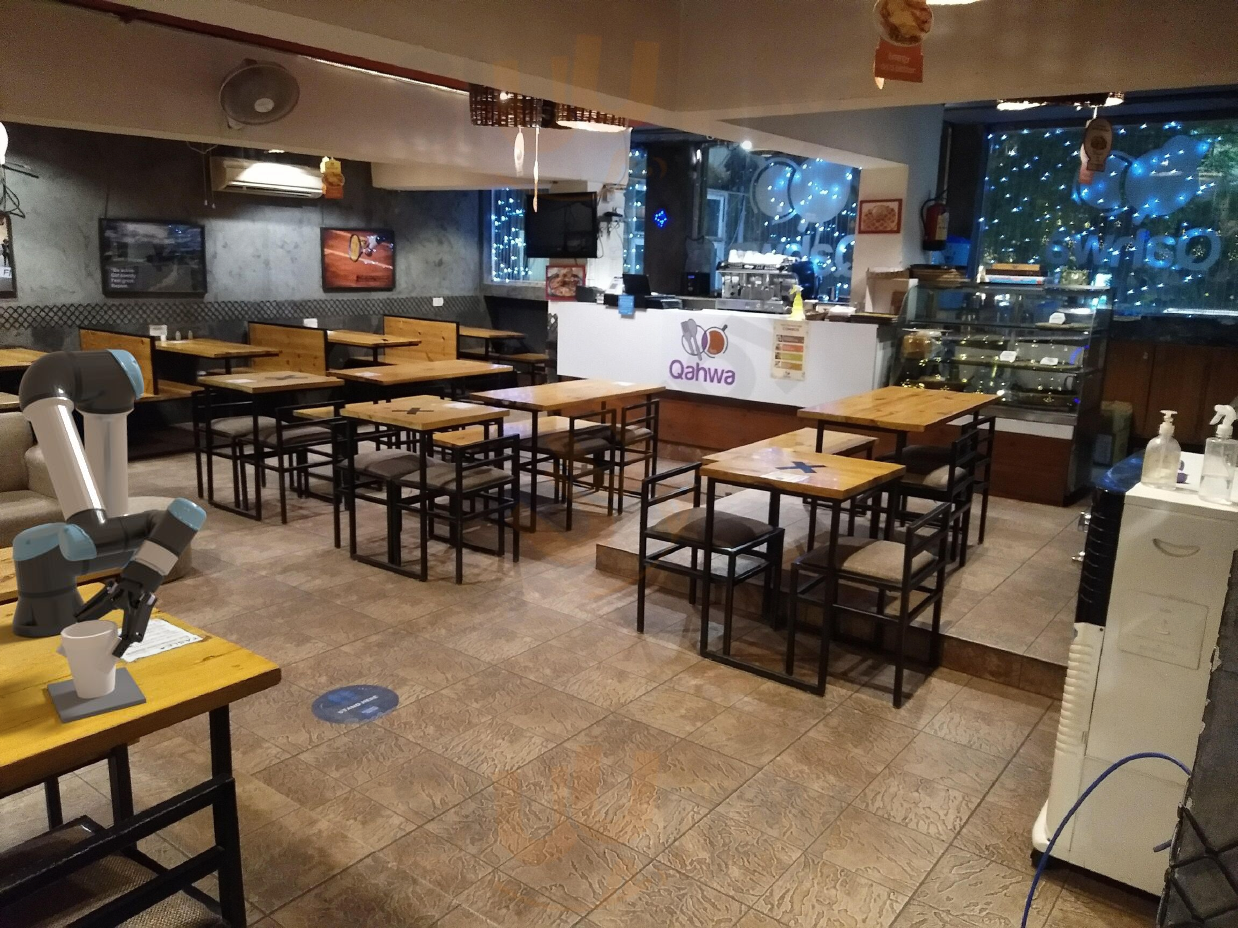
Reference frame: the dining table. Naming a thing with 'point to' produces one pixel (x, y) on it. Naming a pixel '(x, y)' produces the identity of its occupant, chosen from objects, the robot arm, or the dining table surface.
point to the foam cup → (90, 656)
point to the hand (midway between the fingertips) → (81, 663)
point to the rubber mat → (79, 708)
